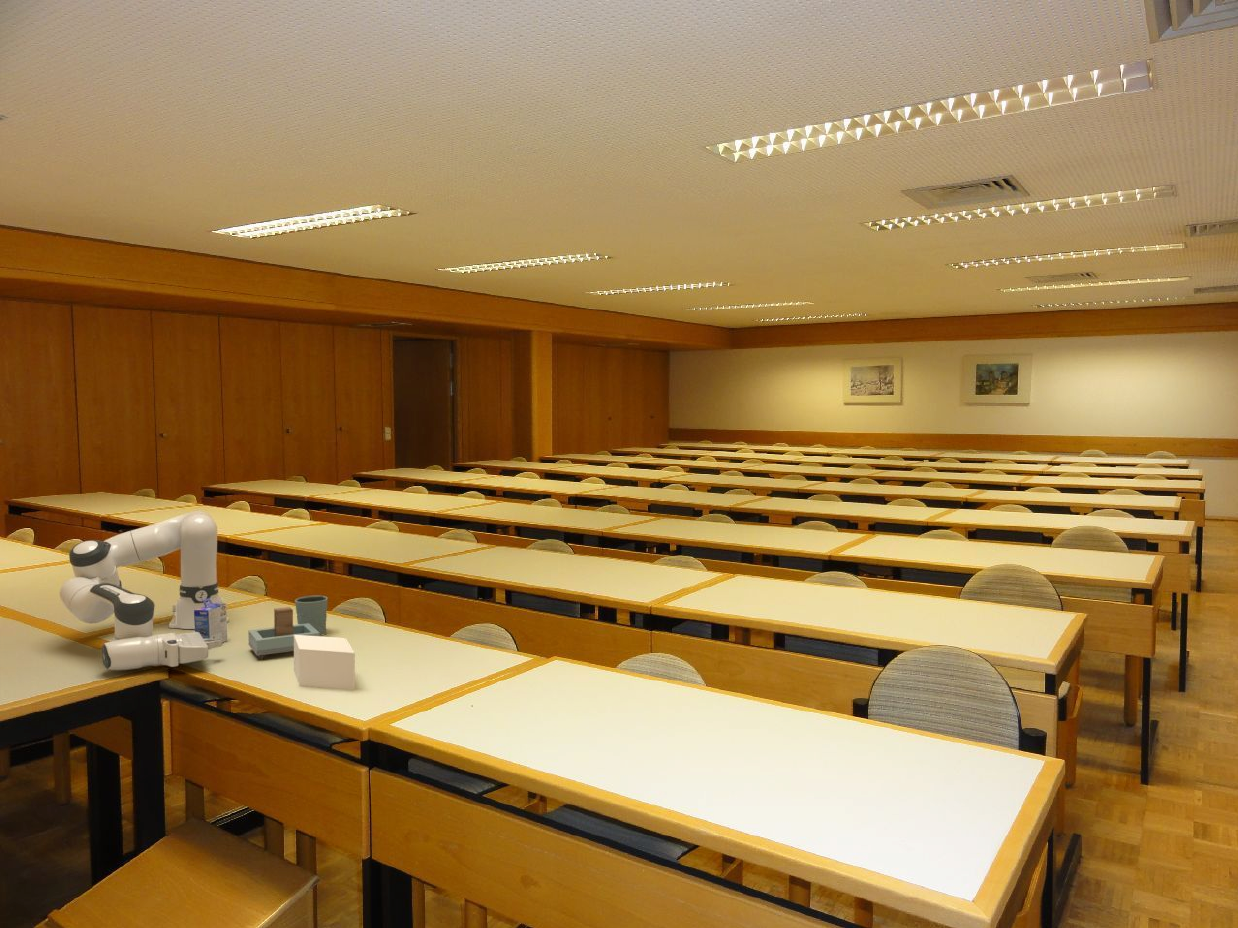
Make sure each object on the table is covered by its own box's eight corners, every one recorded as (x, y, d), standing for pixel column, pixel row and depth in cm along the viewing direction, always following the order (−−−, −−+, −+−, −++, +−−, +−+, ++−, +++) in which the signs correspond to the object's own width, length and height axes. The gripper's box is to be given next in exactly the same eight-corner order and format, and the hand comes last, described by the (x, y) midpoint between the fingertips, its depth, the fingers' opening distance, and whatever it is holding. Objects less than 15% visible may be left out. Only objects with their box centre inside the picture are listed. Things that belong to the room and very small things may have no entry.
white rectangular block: (330, 697, 218) (330, 658, 217) (270, 675, 235) (270, 639, 235) (377, 684, 229) (377, 647, 229) (316, 664, 247) (316, 629, 246)
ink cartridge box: (212, 639, 271) (211, 595, 270) (228, 640, 270) (227, 596, 270) (193, 648, 261) (193, 602, 260) (210, 648, 261) (209, 602, 260)
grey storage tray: (248, 649, 260) (248, 630, 259) (308, 641, 270) (308, 623, 269) (257, 661, 248) (256, 640, 248) (319, 652, 258) (319, 632, 258)
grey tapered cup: (334, 632, 282) (334, 597, 281) (310, 639, 273) (310, 603, 272) (312, 628, 287) (312, 594, 286) (288, 635, 278) (288, 599, 277)
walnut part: (274, 640, 259) (274, 608, 259) (289, 638, 262) (289, 606, 261) (277, 643, 256) (277, 611, 255) (293, 641, 258) (292, 609, 257)
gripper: (165, 651, 250) (216, 644, 257) (172, 668, 233) (226, 661, 240) (164, 630, 249) (215, 624, 257) (172, 646, 232) (226, 639, 240)
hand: (221, 642), depth 248 cm, fingers closed
